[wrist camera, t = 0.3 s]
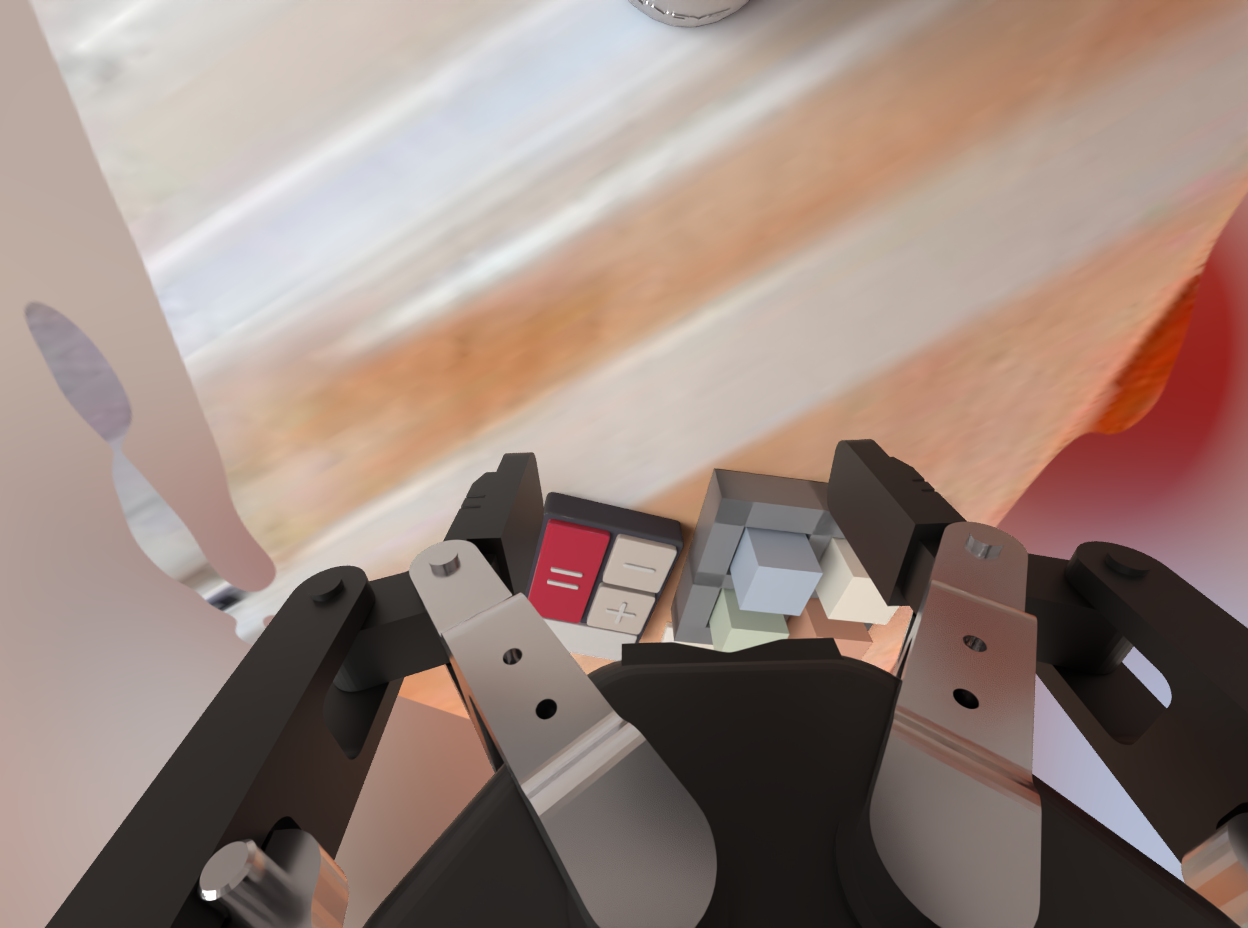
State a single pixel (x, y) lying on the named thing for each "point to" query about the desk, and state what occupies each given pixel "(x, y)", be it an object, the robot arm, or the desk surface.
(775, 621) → the sage key
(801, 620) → the terracotta key
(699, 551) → the keypad base
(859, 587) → the cream key
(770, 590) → the slate key
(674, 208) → the desk surface
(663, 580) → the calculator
